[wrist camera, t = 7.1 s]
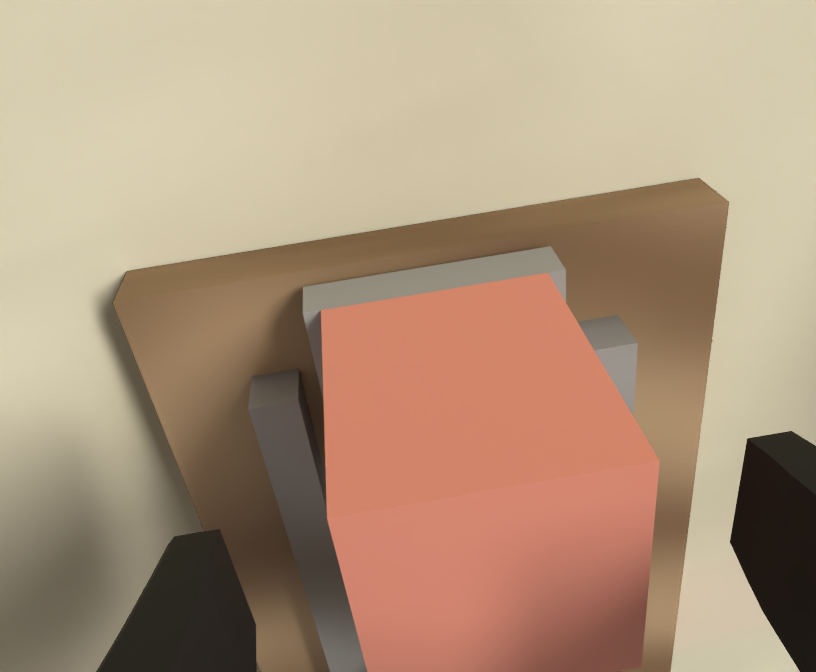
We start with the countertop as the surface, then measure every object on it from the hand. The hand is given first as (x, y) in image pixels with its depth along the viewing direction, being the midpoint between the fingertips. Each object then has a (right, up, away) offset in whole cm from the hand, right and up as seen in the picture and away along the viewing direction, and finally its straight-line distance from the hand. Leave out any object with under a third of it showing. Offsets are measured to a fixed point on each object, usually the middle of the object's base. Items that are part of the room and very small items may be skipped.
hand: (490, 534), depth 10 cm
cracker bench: (0, -1, +8) cm, 8 cm away
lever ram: (-1, +2, +4) cm, 4 cm away
